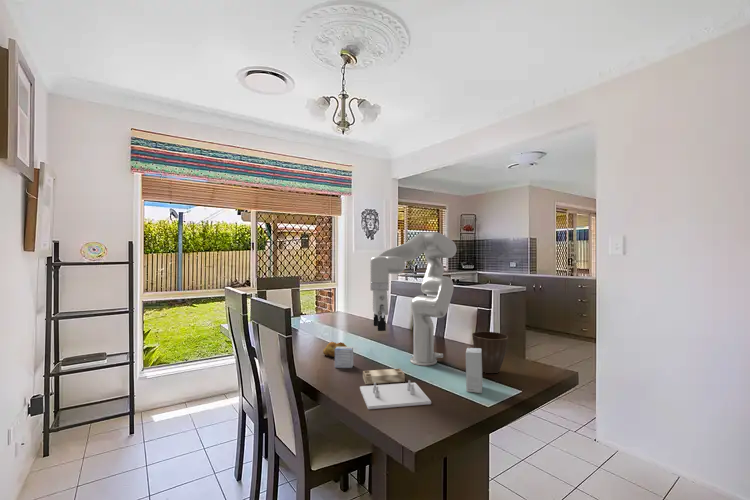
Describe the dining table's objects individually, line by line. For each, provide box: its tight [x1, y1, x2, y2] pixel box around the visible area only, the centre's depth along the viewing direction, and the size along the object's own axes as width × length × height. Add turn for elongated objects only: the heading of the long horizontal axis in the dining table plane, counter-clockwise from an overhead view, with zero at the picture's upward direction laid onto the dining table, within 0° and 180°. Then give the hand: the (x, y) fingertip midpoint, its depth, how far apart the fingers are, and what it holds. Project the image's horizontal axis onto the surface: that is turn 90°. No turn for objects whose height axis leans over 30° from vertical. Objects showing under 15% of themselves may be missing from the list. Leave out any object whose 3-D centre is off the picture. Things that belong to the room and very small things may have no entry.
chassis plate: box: [359, 379, 432, 410], centre depth 129 cm, size 22×18×4 cm
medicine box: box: [334, 346, 354, 369], centre depth 163 cm, size 8×4×9 cm, turn 84°
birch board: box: [362, 368, 406, 385], centre depth 146 cm, size 16×7×3 cm, turn 101°
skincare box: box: [465, 347, 484, 394], centre depth 136 cm, size 8×6×15 cm
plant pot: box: [471, 331, 509, 374], centre depth 156 cm, size 15×15×16 cm
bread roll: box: [322, 341, 348, 359], centre depth 180 cm, size 13×10×8 cm
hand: (379, 328), depth 147 cm, fingers open, 9 cm apart
